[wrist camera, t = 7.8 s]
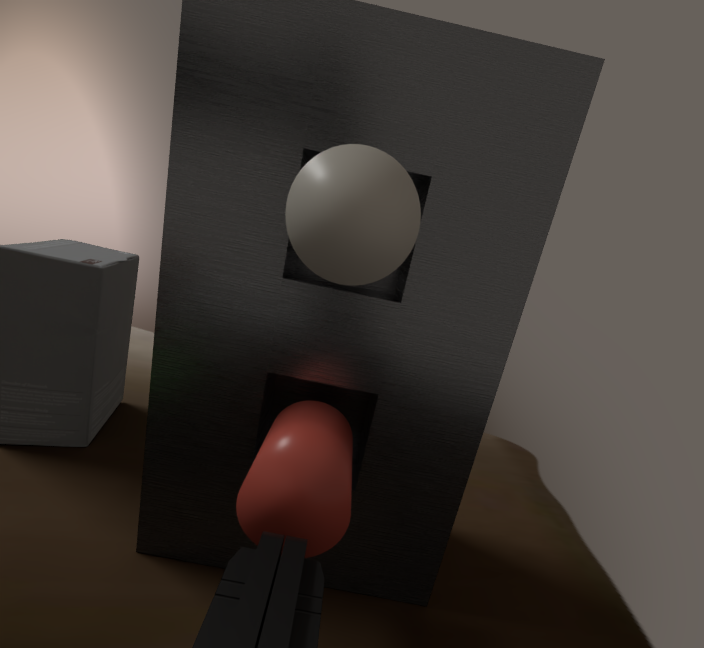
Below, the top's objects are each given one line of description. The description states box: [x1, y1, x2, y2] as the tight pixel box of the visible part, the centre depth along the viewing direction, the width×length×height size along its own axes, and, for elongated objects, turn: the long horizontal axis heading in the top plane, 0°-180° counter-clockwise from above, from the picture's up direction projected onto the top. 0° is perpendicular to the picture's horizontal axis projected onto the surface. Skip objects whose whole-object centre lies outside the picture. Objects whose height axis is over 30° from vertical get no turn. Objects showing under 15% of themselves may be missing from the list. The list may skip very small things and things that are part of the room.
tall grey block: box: [136, 0, 605, 606], centre depth 20 cm, size 7×18×30 cm, turn 89°
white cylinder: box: [285, 144, 421, 286], centre depth 13 cm, size 5×4×4 cm
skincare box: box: [0, 239, 139, 447], centre depth 28 cm, size 8×7×16 cm
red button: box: [236, 400, 353, 558], centre depth 15 cm, size 5×4×4 cm
